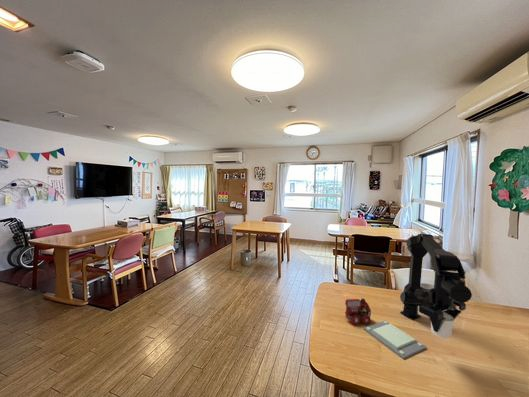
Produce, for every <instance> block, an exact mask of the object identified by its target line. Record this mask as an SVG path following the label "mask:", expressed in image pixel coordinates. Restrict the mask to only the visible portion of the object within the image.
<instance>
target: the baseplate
mask: <svg viewBox="0 0 529 397" xmlns="http://www.w3.org/2000/svg"><path fill="white" fill-rule="evenodd" d="M363 331H365V332H366V333H367V334H369V335H370V336H371V337H373V339H376V341H378V342H380V343H381V344H382V345H384V346H385V347H386V348H388V349H389V350H390V351H391V352H393V353H394V354H395V355H397V356H399V358H401V359H402V360H405V359H407V358H409V357H411V356H413V355H416V354H418V353H419V352H422V351H424V350H427V345H425V344H424V343H422V342H421V341H418V340H417V339H415V338H414V337H413V336H411V335H409V334H408V333H406V332H404V331H403V330H401V329H399V328H398V327H396V326H394V325H393V324H391V323H390V322H389V321H387V320H383V321H380V322H377V323H376V322H375V323H373V324H371V325H368V326H367V325H366V326H364V327H363Z"/></svg>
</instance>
